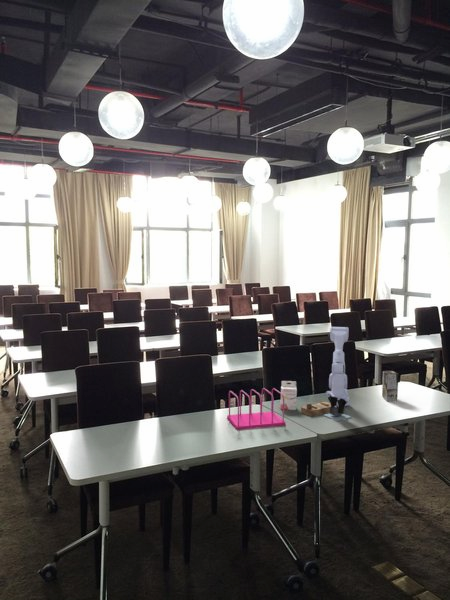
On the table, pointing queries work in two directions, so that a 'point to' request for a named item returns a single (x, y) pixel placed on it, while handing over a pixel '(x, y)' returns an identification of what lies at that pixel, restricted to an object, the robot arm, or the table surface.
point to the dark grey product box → (336, 410)
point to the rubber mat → (337, 417)
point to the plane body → (316, 408)
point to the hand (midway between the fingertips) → (337, 411)
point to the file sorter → (255, 414)
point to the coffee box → (390, 386)
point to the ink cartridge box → (289, 395)
